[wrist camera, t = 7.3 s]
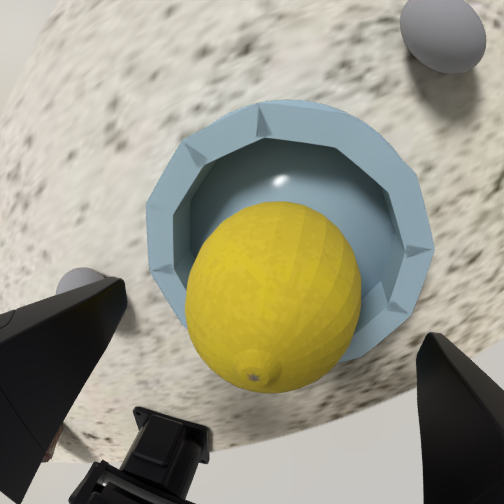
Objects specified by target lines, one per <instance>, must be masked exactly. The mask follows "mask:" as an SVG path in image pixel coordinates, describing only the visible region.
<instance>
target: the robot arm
mask: <svg viewBox="0 0 504 504" xmlns="http://www.w3.org/2000/svg"><path fill="white" fill-rule="evenodd" d="M126 308H127V296H126V289H125V282H124V280H123V279H121V278H117V277H108V278H105V279H102V280H99V281H96V282H93V283H90V284H87V285H84V286H81V287H78V288H75V289H72V290H69V291H66V292H64V293H61V294H58V295H55V296H52V297H49V298H46V299H43V300H40V301H38V302H35V303H32V304H29V305H26V306H23V307H21V308H18V309H16V310H12V311H9V312H6V313H3V314H0V491H1V492H2V493H3V494H4V495H6V496H7V497H8V498H10V499H11V500H12V501H14V502H15V503H16V504H21V502H22V500H23V498H24V496H25V494H26V492H27V490H28V488H29V486H30V484H31V482H32V479H33V478H34V476H35V474H36V472H37V470H38V468H39V466H40V464H41V462H42V460H43V458H44V456H45V454H46V453H45V452H47V450H48V448H49V446H50V445H51V443H52V441H53V439H54V437H55V435H56V433H57V432H58V430H59V428H60V426H61V424H62V423H63V421H64V419H65V417H66V415H67V414H68V412H69V410H70V408H71V407H72V405H73V403H74V401H75V400H76V398H77V396H78V395H79V393H80V391H81V390H82V388H83V386H84V384H85V383H86V381H87V379H88V378H89V376H90V374H91V373H92V371H93V369H94V368H95V366H96V365H97V363H98V361H99V360H100V358H101V356H102V355H103V353H104V352H105V350H106V348H107V346H108V344H109V343H110V341H111V339H112V337H113V334H114V332H115V330H116V328H117V326H118V324H119V322H120V320H121V318H122V316H123V314H124V312H125V310H126ZM416 371H417V405H418V416H419V425H420V435H421V448H422V462H423V492H424V493H423V494H424V504H504V390H503V389H502V388H500V387H499V386H498V385H497V384H496V383H495V382H494V381H493V380H492V379H491V378H490V377H489V376H488V375H487V374H486V373H485V372H483V371H482V370H481V369H480V368H479V367H478V366H477V365H476V364H475V363H474V362H473V361H472V360H471V359H469V358H468V357H467V356H466V355H465V354H464V353H463V352H462V351H461V350H460V349H458V348H457V347H456V346H455V345H454V344H453V343H452V342H451V341H449V340H448V339H447V338H446V337H445V336H444V335H443V334H441V333H434V332H430V333H428V334H427V335H426V337H425V339H424V341H423V343H422V345H421V347H420V349H419V351H418V354H417V357H416ZM133 414H134V417H135V420H136V423H137V426H138V429H139V432H138V434H137V436H136V438H135V440H134V442H133V444H132V446H131V448H130V450H129V451H128V453H127V455H126V457H125V459H124V461H123V463H122V465H121V467H120V469H117V468H115V467H113V466H111V465H110V464H109V463H108V462H106V461H104V460H102V461H101V463H98V462H94V463H93V464H92V466H91V468H90V470H89V471H88V473H87V475H86V476H85V478H84V479H83V480H82V482H81V483H80V484H79V486H78V487H77V488H76V489H75V491H74V492H73V493H72V495H71V496H70V497H69V500H68V501H69V503H70V504H195V503H192V502H190V501H187V500H185V499H186V496H187V493H188V490H189V488H190V485H191V483H192V480H193V477H194V474H195V472H196V469H197V466H198V463H203V464H208V462H209V431H208V429H207V428H206V427H204V426H200V425H197V424H193V423H189V422H186V421H182V420H179V419H175V418H172V417H168V416H165V415H162V414H159V413H156V412H153V411H150V410H147V409H144V408H141V407H135V408H134V410H133ZM103 483H106V484H107V485H106V486H103Z"/></svg>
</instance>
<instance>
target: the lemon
mask: <svg viewBox="0 0 504 504" xmlns="http://www.w3.org/2000/svg"><path fill="white" fill-rule="evenodd" d="M360 309H361V275H360V271H359V268H358V265H357V261H356V258H355V255H354V252H353V249H352V247H351V246H350V244H349V243H348V241H347V240H346V238H345V237H344V235H343V234H342V232H341V231H340V230H339V228H338V227H337V226H336V225H334V224H333V223H332V222H331V221H330V220H329V219H328V218H326V217H325V216H324V215H323V214H321V213H319V212H317V211H315V210H313V209H311V208H309V207H307V206H305V205H301V204H297V203H292V202H287V201H275V202H263V203H259V204H256V205H252V206H249V207H246V208H244V209H242V210H240V211H238V212H237V213H235V214H234V215H232V216H231V217H229V218H227V219H226V220H224V221H223V222H222V223H221V224H220V225H219V226H218V227H217V228H216V230H215V231H214V232H213V233H212V234H211V235H210V236H209V237H208V238H207V240H206V241H205V242H204V244H203V245H202V247H201V249H200V251H199V253H198V256H197V258H196V260H195V262H194V264H193V266H192V269H191V271H190V274H189V278H188V283H187V291H186V300H185V317H186V322H187V328H188V332H189V335H190V338H191V340H192V342H193V344H194V347H195V349H196V351H197V353H198V354H199V355H200V357H201V358H202V359H203V360H204V362H205V363H206V364H207V365H208V366H209V368H210V369H211V370H213V371H214V372H215V373H216V374H218V375H219V376H220V377H221V378H223V379H224V380H226V381H228V382H229V383H231V384H233V385H235V386H237V387H240V388H243V389H246V390H249V391H253V392H260V393H283V392H288V391H292V390H297V389H300V388H302V387H304V386H306V385H309V384H311V383H313V382H315V381H317V380H318V379H320V378H321V377H322V376H324V375H325V374H326V373H327V372H329V371H330V370H331V369H332V368H333V367H334V366H335V365H336V364H337V363H338V361H339V360H340V359H341V357H342V356H343V354H344V353H345V352H346V350H347V348H348V347H349V345H350V343H351V340H352V337H353V334H354V331H355V328H356V325H357V322H358V319H359V315H360Z"/></svg>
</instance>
